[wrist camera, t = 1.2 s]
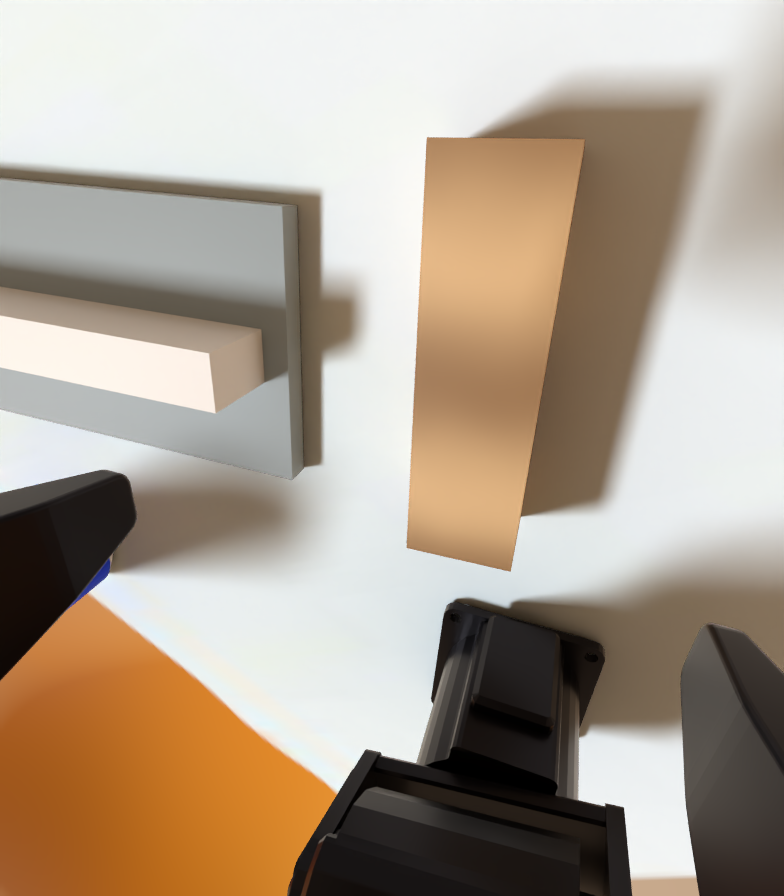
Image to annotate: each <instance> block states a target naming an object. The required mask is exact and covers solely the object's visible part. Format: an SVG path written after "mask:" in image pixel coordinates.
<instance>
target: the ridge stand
mask: <svg viewBox="0 0 784 896" xmlns="http://www.w3.org/2000/svg"><path fill="white" fill-rule="evenodd" d="M0 410H4V411H8V412H13V413H17V414H21V415H25V416H29V417H33V418H37V419H42V420H46V421H50V422H54V423H58V424H62V425H66V426H71V427H75V428H79V429H83V430H87V431H91V432H95V433H100V434H104V435H108V436H112V437H116V438H120V439H124V440H129V441H133V442H137V443H141V444H145V445H149V446H153V447H158V448H162V449H166V450H170V451H174V452H178V453H182V454H187V455H191V456H195V457H199V458H203V459H207V460H211V461H216V462H220V463H224V464H228V465H232V466H236V467H240V468H245V469H249V470H253V471H257V472H261V473H265V474H269V475H274V476H278V477H282V478H286V479H290V480H293V479H294V478H295V477H296V476H297V475H298V474H299V473H300V472H301V471H302V470H303V469H304V460H303V419H302V379H301V339H300V298H299V258H298V218H297V205H291V204H280V203H269V202H258V201H248V200H237V199H226V198H216V197H205V196H194V195H183V194H173V193H162V192H151V191H141V190H130V189H119V188H108V187H98V186H87V185H76V184H66V183H55V182H44V181H33V180H23V179H12V178H1V177H0Z"/></svg>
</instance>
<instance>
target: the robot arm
mask: <svg viewBox="0 0 784 896" xmlns="http://www.w3.org/2000/svg"><path fill="white" fill-rule="evenodd" d="M136 519H137V512H136V507H135V503H134V498H133V493H132V489H131V484H130V481H129V479H128V478H127V477H126V476H125V475H123V474H121V473H117V472H113V471H109V470H98V471H94V472H90V473H85V474H81V475H77V476H72V477H68V478H64V479H59V480H55V481H51V482H46V483H42V484H38V485H33V486H29V487H25V488H21V489H16V490H12V491H8V492H3V493H0V680H1V679H3V677H4V676H5V675H6V674H7V673H8V672H9V671H10V670H11V669H12V668H13V667H14V666H15V665H16V664H17V662H18V661H19V660H20V659H21V658H22V657H23V656H24V655H25V654H26V653H27V652H28V651H29V650H30V649H31V648H32V647H33V645H34V644H35V643H36V642H37V641H38V640H39V639H40V638H41V637H42V636H43V634H44V633H46V632H47V630H48V629H49V628H50V627H51V626H52V625H53V624H54V623H55V622H56V621H57V620H58V619H59V618H60V617H61V616H62V615H63V613H64V612H65V611H66V610H67V609H68V608H69V607H70V606H71V605H72V604H73V602H74V601H75V600H76V599H77V598H78V597H79V596H80V594H81V593H82V592H83V591H84V589H85V588H86V587H87V586H88V585H89V583H90V582H91V581H92V579H93V578H94V577H95V576H96V574H97V573H98V572H99V571H100V569H101V568H102V567H103V565H104V564H105V563H106V562H107V560H108V559H109V558H110V557H111V555H112V554H113V553H114V551H115V550H116V549H117V548H118V546H119V545H120V544H121V543H122V541H123V540H124V539H125V537H126V536H127V535H128V534H129V532H130V531H131V530H132V528H133V527H134V525H135V523H136ZM453 613H454V614H458V615H459V616H456V615H454V614H453ZM588 653H594V655H591V654H588ZM604 662H605V650H604V648H603V646H602V645H601V644H599V643H597V642H595V641H592V640H588V639H585V638H581V637H578V636H574V635H571V634H567V633H564V632H560V631H557V630H553V629H549V628H546V627H542V626H539V625H535V624H532V623H528V622H525V621H521V620H518V619H514V618H510V617H507V616H503V615H500V614H496V613H493V612H489V611H486V610H482V609H479V608H475V607H471V606H468V605H464V604H461V603H456V602H453V603H450V604H448V605H447V607H446V609H445V613H444V617H443V623H442V630H441V637H440V643H439V650H438V657H437V663H436V670H435V677H434V683H433V690H432V697H431V700H432V703H433V707H432V711H431V714H430V718H429V721H428V725H427V728H426V732H425V735H424V738H423V742H422V745H421V749H420V752H419V756H418V759H417V762H416V763H412V762H408V761H403V760H399V759H395V758H390V757H386V756H382V755H381V753H380V752H376V751H372V750H368V749H366V750H365V751H364V753H363V755H362V756H361V758H360V760H359V761H358V763H357V764H356V766H355V768H354V769H353V770H352V771H351V773H350V775H349V776H348V778H347V779H346V781H345V783H344V784H343V786H342V788H341V789H340V791H339V793H338V794H337V796H336V797H335V799H334V801H333V802H332V804H331V806H330V807H329V809H328V811H327V812H326V814H325V816H324V817H323V819H322V820H321V822H320V824H319V825H318V827H317V829H316V831H315V832H314V834H313V835H312V837H311V838H310V840H309V842H308V843H307V845H306V847H305V848H304V850H303V851H302V853H301V855H300V856H299V858H298V860H297V862H296V865H295V868H294V873H293V877H292V879H291V881H290V884H289V887H288V894H287V896H632V889H631V878H630V868H629V857H628V846H627V836H626V825H625V814H624V807H620V806H615V805H611V804H606V803H605V806H601V805H596V804H592V803H588V802H583V801H579V800H578V775H579V728H580V725H581V723H582V720H583V717H584V715H585V712H586V710H587V707H588V704H589V702H590V699H591V696H592V694H593V691H594V688H595V686H596V683H597V680H598V678H599V675H600V672H601V670H602V667H603V664H604ZM681 706H682V731H683V756H684V781H685V798H686V809H687V816H688V824H689V831H690V838H691V844H692V850H693V857H694V863H695V870H696V876H697V883H698V889H699V895H700V896H784V673H783V672H782V671H781V670H780V669H779V668H778V667H777V666H776V665H775V663H774V662H773V661H772V660H771V659H770V658H769V657H768V656H767V655H766V654H765V653H764V652H763V651H762V650H761V649H760V648H759V647H758V646H757V645H756V644H755V643H754V642H753V641H752V640H751V639H750V638H749V637H748V636H747V635H746V634H745V633H744V632H742V631H740V630H738V629H734V628H730V627H726V626H722V625H718V624H715V623H707V624H704V625H703V626H702V628H701V629H700V631H699V633H698V635H697V637H696V639H695V641H694V644H693V646H692V648H691V650H690V652H689V654H688V657H687V659H686V661H685V663H684V666H683V669H682V674H681Z"/></svg>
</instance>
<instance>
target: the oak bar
mask: <svg viewBox="0 0 784 896" xmlns="http://www.w3.org/2000/svg"><path fill="white" fill-rule="evenodd" d="M584 148H585V139H531V138H429V137H427V145H426V165H425V186H424V206H423V226H422V247H421V267H420V287H419V307H418V328H417V348H416V368H415V388H414V409H413V429H412V449H411V470H410V490H409V510H408V530H407V548H410V549H414V550H418V551H423V552H427V553H431V554H436V555H440V556H445V557H449V558H453V559H458V560H462V561H467V562H471V563H475V564H480V565H484V566H488V567H493V568H497V569H502V570H506V571H510V572H511V566H512V561H513V555H514V550H515V545H516V539H517V534H518V529H519V523H520V518H521V512H522V506H523V500H524V495H525V489H526V483H527V477H528V472H529V466H530V460H531V454H532V448H533V443H534V437H535V431H536V425H537V420H538V414H539V408H540V402H541V397H542V391H543V385H544V379H545V373H546V368H547V362H548V356H549V350H550V345H551V339H552V333H553V327H554V321H555V316H556V310H557V304H558V298H559V293H560V287H561V281H562V275H563V269H564V264H565V258H566V252H567V246H568V241H569V235H570V229H571V223H572V217H573V212H574V206H575V200H576V194H577V189H578V183H579V177H580V171H581V165H582V160H583V154H584Z"/></svg>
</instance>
